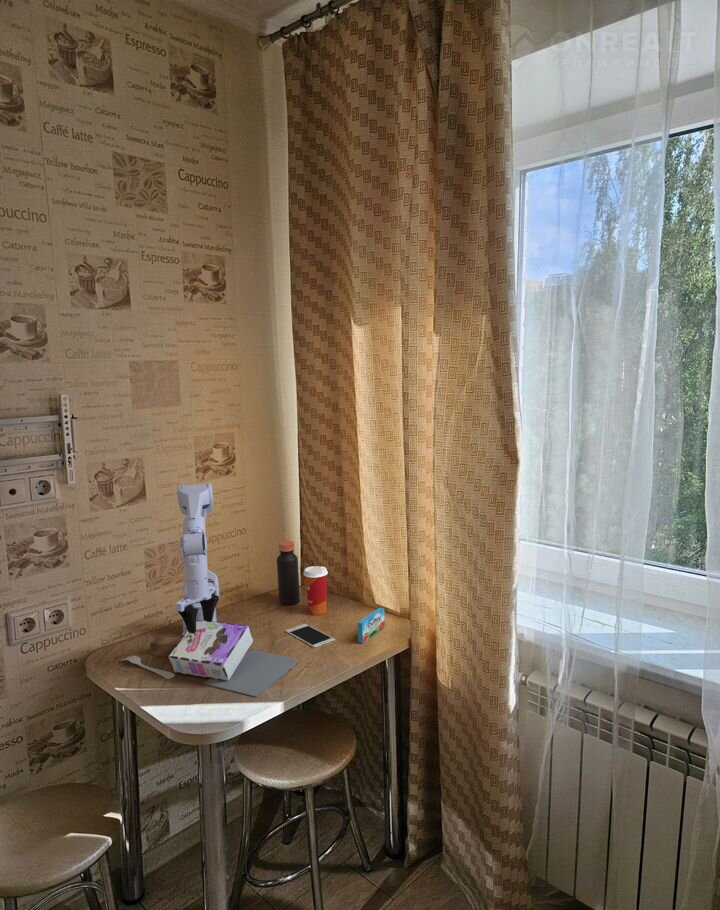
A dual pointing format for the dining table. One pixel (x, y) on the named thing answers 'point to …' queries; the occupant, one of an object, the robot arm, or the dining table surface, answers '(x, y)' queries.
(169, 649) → the brown rectangular bar
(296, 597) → the bottle
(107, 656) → the dining table surface
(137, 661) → the fork
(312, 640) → the smartphone
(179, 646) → the candy box
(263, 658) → the slate mat
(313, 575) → the paper cup
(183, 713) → the dining table surface
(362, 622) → the blue fruit print box
